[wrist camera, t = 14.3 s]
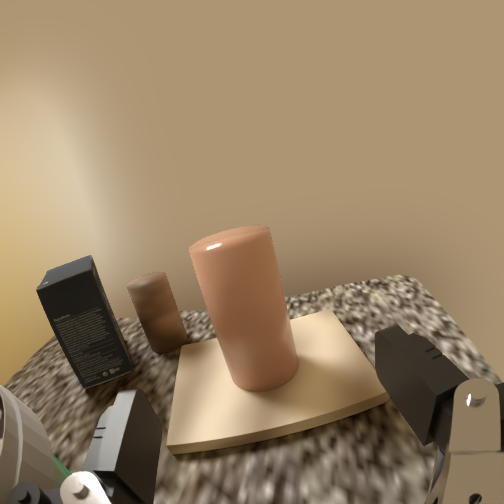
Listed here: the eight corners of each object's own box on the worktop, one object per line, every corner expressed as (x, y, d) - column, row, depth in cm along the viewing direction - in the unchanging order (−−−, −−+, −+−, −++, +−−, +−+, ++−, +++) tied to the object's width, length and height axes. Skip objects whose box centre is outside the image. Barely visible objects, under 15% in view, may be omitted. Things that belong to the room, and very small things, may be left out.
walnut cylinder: (148, 355, 28) (122, 292, 26) (155, 335, 32) (132, 277, 30) (186, 348, 28) (162, 283, 26) (189, 328, 32) (168, 268, 30)
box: (136, 371, 26) (91, 267, 23) (84, 391, 24) (33, 289, 21) (125, 338, 33) (91, 252, 30) (83, 354, 30) (45, 270, 27)
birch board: (172, 454, 16) (166, 445, 16) (185, 354, 27) (181, 345, 27) (389, 400, 16) (389, 390, 16) (331, 317, 28) (330, 308, 28)
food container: (182, 498, 12) (71, 373, 8) (165, 591, 6) (-9, 520, 3) (34, 465, 14) (-54, 360, 10) (7, 524, 8) (-104, 423, 4)
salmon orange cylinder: (232, 398, 19) (184, 260, 16) (230, 357, 24) (192, 239, 21) (305, 380, 19) (276, 237, 16) (290, 342, 24) (263, 220, 21)
